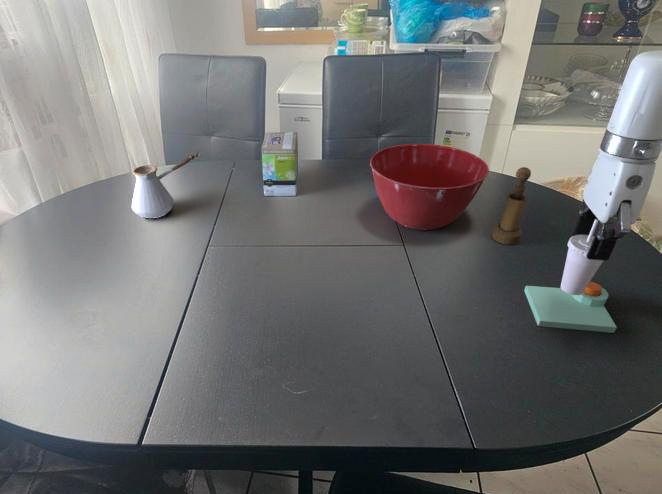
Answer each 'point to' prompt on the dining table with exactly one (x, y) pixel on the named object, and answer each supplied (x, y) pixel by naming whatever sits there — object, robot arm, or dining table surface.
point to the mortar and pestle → (513, 212)
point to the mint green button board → (569, 309)
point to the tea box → (280, 163)
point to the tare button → (593, 289)
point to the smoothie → (579, 264)
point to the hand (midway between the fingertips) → (589, 246)
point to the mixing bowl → (426, 183)
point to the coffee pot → (153, 191)
